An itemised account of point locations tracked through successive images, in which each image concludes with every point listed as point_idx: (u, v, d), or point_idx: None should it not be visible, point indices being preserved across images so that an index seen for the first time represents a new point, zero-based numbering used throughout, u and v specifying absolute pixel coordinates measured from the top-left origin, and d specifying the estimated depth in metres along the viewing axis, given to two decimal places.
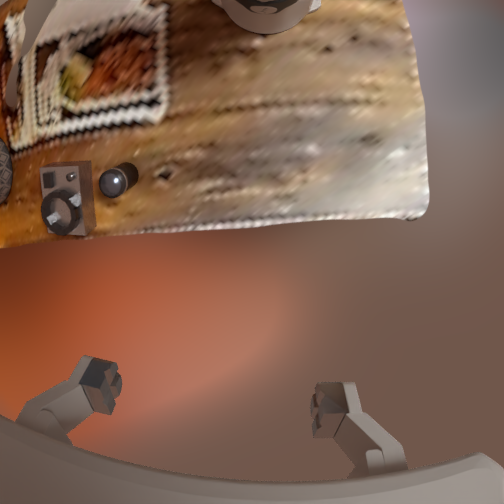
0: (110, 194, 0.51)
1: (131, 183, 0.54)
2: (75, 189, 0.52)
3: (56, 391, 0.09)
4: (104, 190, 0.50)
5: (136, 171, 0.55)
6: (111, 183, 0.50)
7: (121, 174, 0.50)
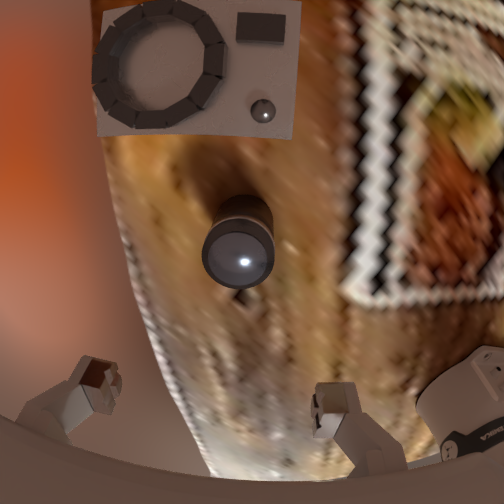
0: (211, 256, 0.22)
1: None
2: (223, 118, 0.20)
3: (56, 391, 0.09)
4: (222, 241, 0.21)
5: None
6: (240, 263, 0.22)
7: None
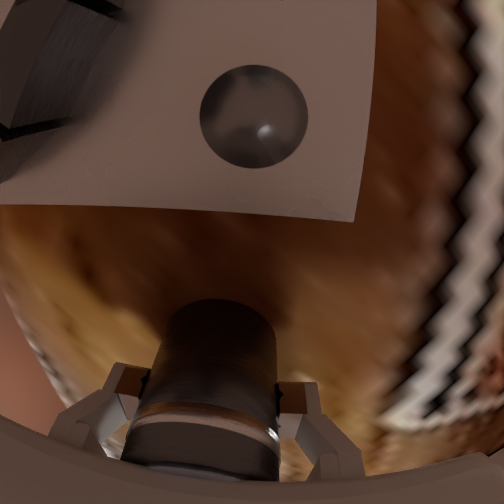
0: None
1: None
2: (116, 150, 0.05)
3: (90, 401, 0.09)
4: None
5: None
6: None
7: None
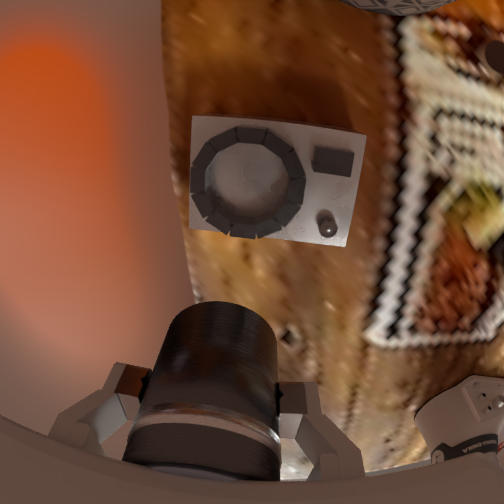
0: None
1: None
2: (296, 229, 0.27)
3: (90, 401, 0.09)
4: None
5: None
6: None
7: None
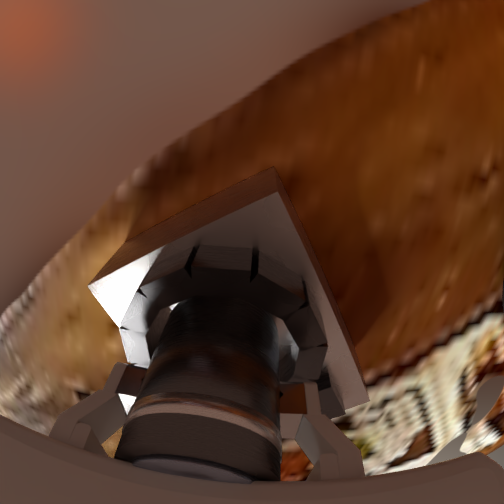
0: None
1: None
2: None
3: (91, 402, 0.09)
4: (159, 468, 0.07)
5: None
6: None
7: None
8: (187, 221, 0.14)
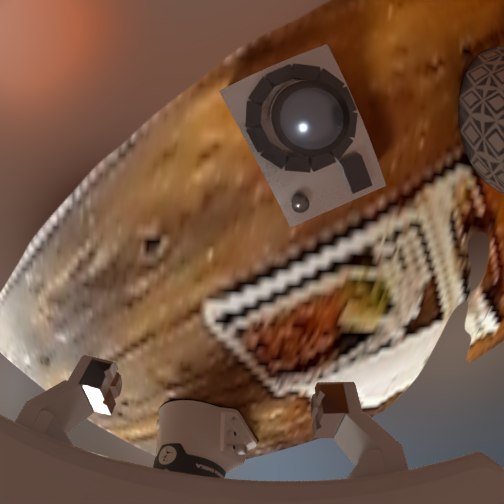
0: (285, 108, 0.18)
1: None
2: (280, 180, 0.28)
3: (56, 391, 0.09)
4: (301, 94, 0.17)
5: None
6: (314, 122, 0.18)
7: None
8: None
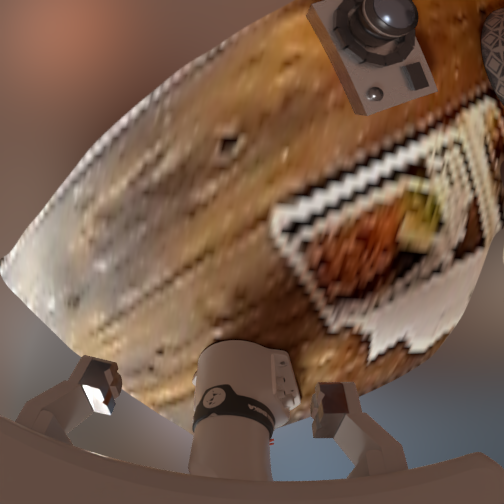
0: (377, 0, 0.19)
1: (369, 34, 0.24)
2: (359, 74, 0.29)
3: (56, 391, 0.09)
4: None
5: (376, 45, 0.26)
6: (396, 11, 0.19)
7: (403, 34, 0.21)
8: None
